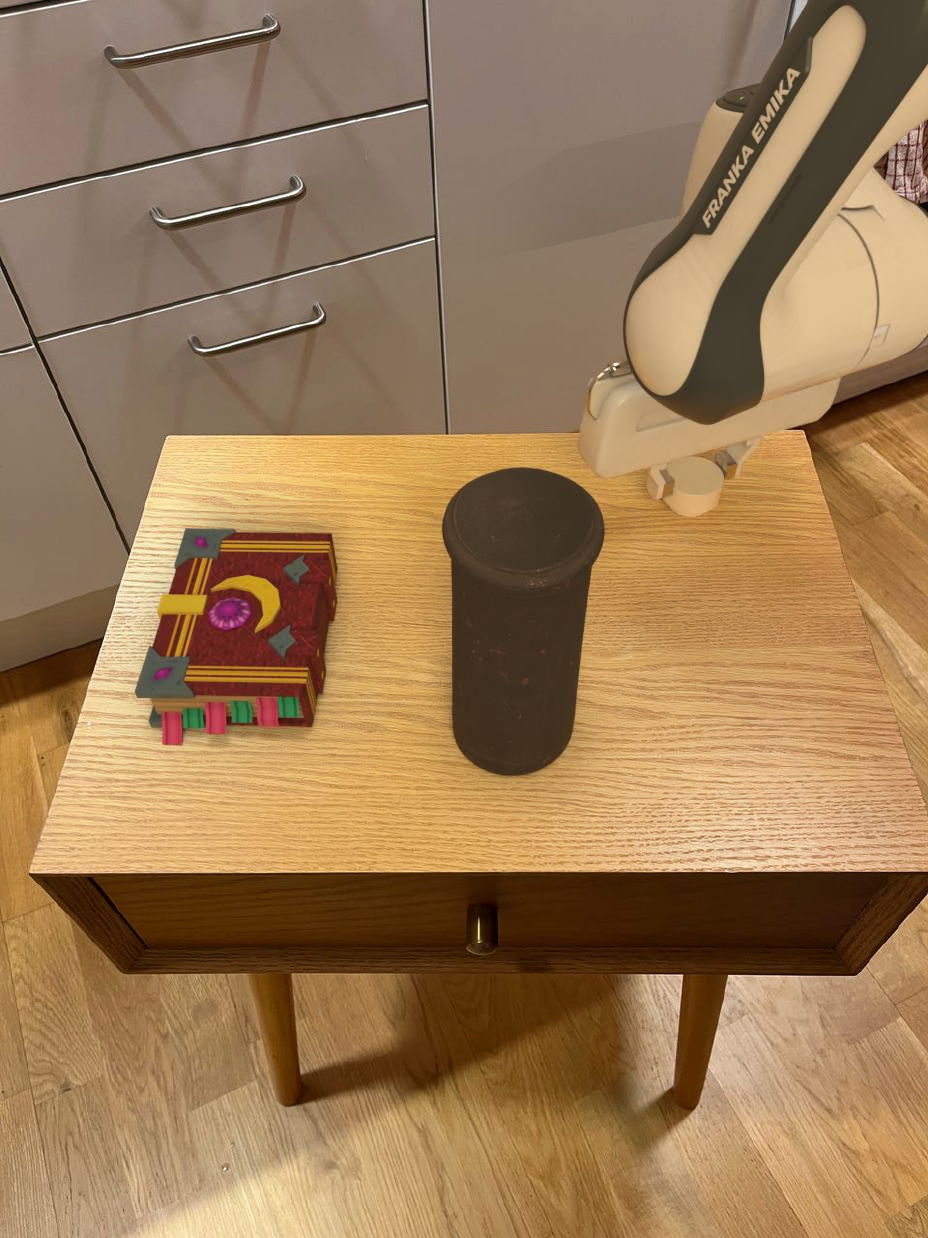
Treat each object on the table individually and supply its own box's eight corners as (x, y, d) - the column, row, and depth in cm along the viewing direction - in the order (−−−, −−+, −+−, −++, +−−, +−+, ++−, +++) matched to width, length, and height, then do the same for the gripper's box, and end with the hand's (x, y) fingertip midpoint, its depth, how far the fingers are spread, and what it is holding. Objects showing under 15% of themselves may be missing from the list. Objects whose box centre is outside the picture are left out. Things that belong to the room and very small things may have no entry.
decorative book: (342, 571, 75) (334, 524, 71) (314, 747, 64) (304, 704, 60) (197, 569, 75) (182, 523, 71) (146, 744, 65) (125, 701, 61)
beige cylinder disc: (728, 499, 79) (735, 471, 77) (698, 531, 77) (705, 504, 74) (677, 475, 81) (683, 447, 79) (647, 506, 79) (652, 478, 76)
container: (596, 697, 66) (630, 478, 51) (548, 802, 61) (570, 593, 46) (482, 656, 69) (482, 436, 54) (427, 754, 64) (409, 540, 48)
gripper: (611, 393, 63) (593, 543, 73) (875, 325, 67) (822, 476, 78) (570, 341, 66) (558, 491, 77) (822, 281, 71) (778, 430, 81)
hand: (692, 483), depth 77 cm, fingers closed on beige cylinder disc, 5 cm apart
